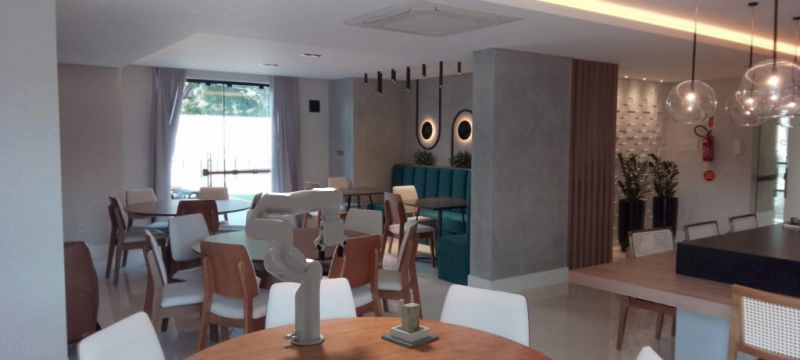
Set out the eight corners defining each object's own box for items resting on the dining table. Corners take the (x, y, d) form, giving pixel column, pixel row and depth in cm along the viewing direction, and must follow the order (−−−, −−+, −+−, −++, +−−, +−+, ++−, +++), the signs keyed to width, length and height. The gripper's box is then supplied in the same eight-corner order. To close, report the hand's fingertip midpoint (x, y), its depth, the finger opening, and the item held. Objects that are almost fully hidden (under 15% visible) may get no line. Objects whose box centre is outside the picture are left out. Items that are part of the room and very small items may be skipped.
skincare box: (409, 338, 222) (409, 307, 221) (401, 336, 225) (401, 305, 224) (420, 334, 227) (420, 304, 226) (411, 332, 230) (411, 302, 229)
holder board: (410, 348, 214) (410, 337, 214) (381, 338, 225) (381, 328, 225) (438, 338, 225) (439, 328, 225) (409, 329, 237) (409, 319, 236)
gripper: (319, 220, 229) (319, 262, 230) (352, 216, 242) (352, 257, 243) (308, 218, 235) (308, 260, 236) (341, 215, 247) (341, 254, 248)
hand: (331, 258), depth 239 cm, fingers open, 9 cm apart
